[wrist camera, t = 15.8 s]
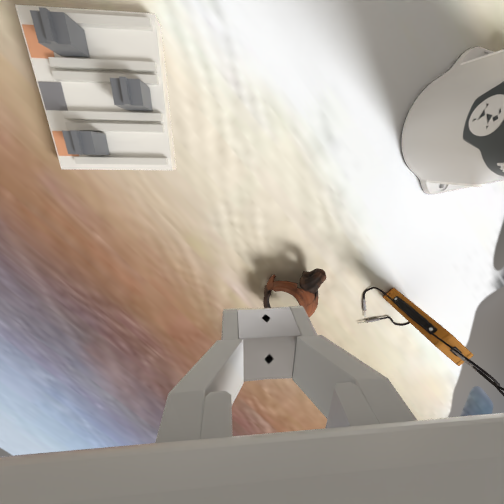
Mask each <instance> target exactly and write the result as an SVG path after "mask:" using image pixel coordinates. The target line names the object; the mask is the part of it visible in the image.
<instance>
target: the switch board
mask: <svg viewBox="0 0 504 504" xmlns="http://www.w3.org/2000/svg"><path fill="white" fill-rule="evenodd" d="M15 7H16V10H17V14H18V17H19V21H20V25H21V28H22V32H23V35H24V39H25V42H26V46H27V49H28V53H29V56H30V60H31V63H32V67H33V70H34V74H35V77H36V81H37V84H38V88H39V92H40V95H41V99H42V102H43V106H44V109H45V113H46V116H47V120H48V123H49V127H50V130H51V134H52V137H53V141H54V144H55V148H56V152H57V155H58V159H59V162H60V166H61V169H93V170H175V169H176V161H175V151H174V142H173V132H172V123H171V113H170V104H169V94H168V85H167V75H166V66H165V56H164V47H163V37H162V28H161V24H160V22H159V20H158V18H157V16H156V15H155V13H140V12H124V11H109V10H93V9H77V8H61V7H46V6H30V5H15ZM39 7H43V8H47V9H48V10H49V11H51V12H64V13H65V14H67V15H68V16H69V17H70V18H71V19H72V20H73V21H75V22H76V23H77V24H78V25H79V26H80V27H82V28H83V29H84V31H85V36H86V41H87V45H88V50H89V55H90V58H87V57H66V56H60V55H58V54H57V53H55V52H53V51H52V50H50V49H48V48H46V47H45V46H43V45H41V44H40V43H38V39H37V35H36V32H35V28H34V24H33V20H32V17H31V13H30V10H35V11H39ZM119 76H120V77H126V78H128V79H140V80H141V81H142V82H144V83H145V84H146V85H147V86H148V87H150V94H151V102H152V109H153V111H131V110H125V109H123V108H121V107H118V106H116V105H114V100H113V94H112V89H111V83H110V78H119ZM70 130H76V131H92V132H98V133H103V134H106V139H107V144H108V148H109V153H110V155H79V154H68V152H67V148H66V144H65V140H64V137H63V133H62V131H70Z"/></svg>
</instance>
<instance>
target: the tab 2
mask: <svg viewBox="0 0 504 504" xmlns="http://www.w3.org/2000/svg"><path fill="white" fill-rule="evenodd" d="M62 133H63V137H64V140H65V144H66V148H67V152H68V154H79V155H110V153H109V148H108V144H107V139H106V134H103V133H98V132H92V131H76V130H70V131H62Z"/></svg>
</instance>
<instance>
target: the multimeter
mask: <svg viewBox="0 0 504 504" xmlns="http://www.w3.org/2000/svg"><path fill="white" fill-rule="evenodd" d="M374 288H375V289H378V290H380V289H379V288H376V287H372V288H369V289H367V290H366V291H365V292H364V294H363V310H364V316H366V315H365V311H366V301H365V293H366V292H367V291H368V290H370V289H374ZM380 291H381V292H382V293H384V294H385V296H383V298H384V299H385V300H386V301H387V302H389V303H390V304H391V305H392V306H393V307H394V308H395V309H396V310H397V311H398V312H399V313H400V314H401V315H403V316H404V317H405V318H406V319H407V320H408V321H409V322H408V323H406V324H396V323H394V322H393V320H392V318H390V317H384V318H376V319H371V320H366V321H364V322H367V323H368V322H373V321H378V320H381V319H386V318H390V319H391V321H392V322H393V323H394V324H395V325H400V326H403V325H407V324H409V323H411V324H412V325H413V326H414V327H415V328H417V329H418V330H419V331H420V332H421V333H422V334H423V335H424V336H425V337H426V338H427V339H428V340H429V341H431V342H432V343H433V344H434V345H435V346H436V347H437V348H438V349H439V350H441V351H442V352H443V353H444V354H445V355H446V356H447V357H449V358H450V359H451V360H452V361H453V362H454V363H455V364H457V365H458V366H460V365H461V364H462V363H464V362H465V363H468V364H469V365H470V366H471V367H472V368H473V369H474V370H475V371H477V372H479V373H480V374H481V375H482V376H483V377H484V378H485V379H487V380H488V381H489V382H490V383H491V384H493V385H494V386H495V387H496V388H497V389H498V390H499V392H500V393H501V394H502V395H503V396H504V393H503V392H502V391H501V390H504V388H502V387H500V384H499V383H498V382H497V381H496V380H495V379H494V378H493V377H492V376H491V375H489V374H488V373H487V372H486V371H484V370H483V369H482V368H480V367H479V366H478V365H476V364H475V363H474V362H472V361H471V360H469V359H470V358H471V357H472V356H473V354H472V353H471V352H470V351H469V350H468V349H467V348H466V347H464V346H463V345H462V344H461V343H460V342H459V341H458V340H457V339H456V338H455V337H454V336H453V335H452V334H451V333H449V332H448V331H447V330H446V329H444V328H443V327H442V326H441V325H440V324H438V323H437V322H436V321H435V320H433V319H432V318H431V317H430V316H428V315H427V314H426V313H425V312H423V311H422V310H421V309H420V308H418V307H417V306H416V305H415V304H414V303H412V302H411V301H410V300H409V299H407V298H406V297H405V296H404V295H402V294H401V293H400V292H399V291H397V290H396V289H395V288H393V289H391V290H390V291H389V292H388V293H387V294H386V293H385V292H383V291H382V290H380ZM364 322H359V323H364ZM476 367H477V368H476ZM480 370H481V371H482V372H481V371H480ZM484 373H485V374H486V375H487V376H488V377H490V378H491V379H492V380H493V381H494V382H493V381H492V380H491V379H490V378H488V377H487V376H486V375H485V374H484ZM499 388H500V389H501V390H500V389H499Z"/></svg>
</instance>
